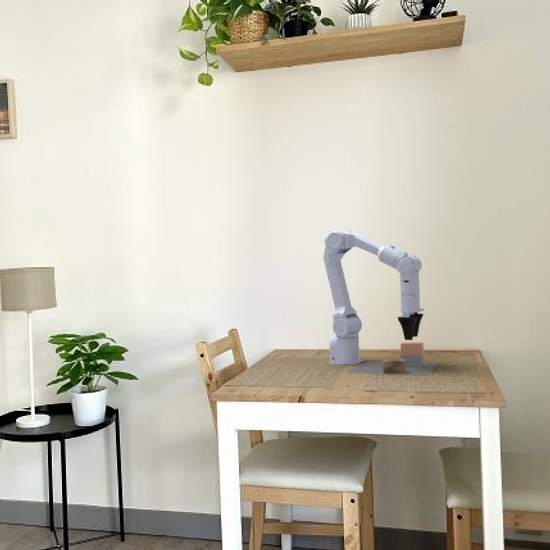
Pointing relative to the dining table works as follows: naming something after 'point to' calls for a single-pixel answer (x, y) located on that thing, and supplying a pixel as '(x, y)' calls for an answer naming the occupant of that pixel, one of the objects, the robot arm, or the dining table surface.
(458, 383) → the dining table surface
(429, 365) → the felt mat
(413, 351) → the brick terracotta
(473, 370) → the dining table surface
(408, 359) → the brick slate
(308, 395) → the dining table surface
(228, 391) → the dining table surface
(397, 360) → the brick walnut
